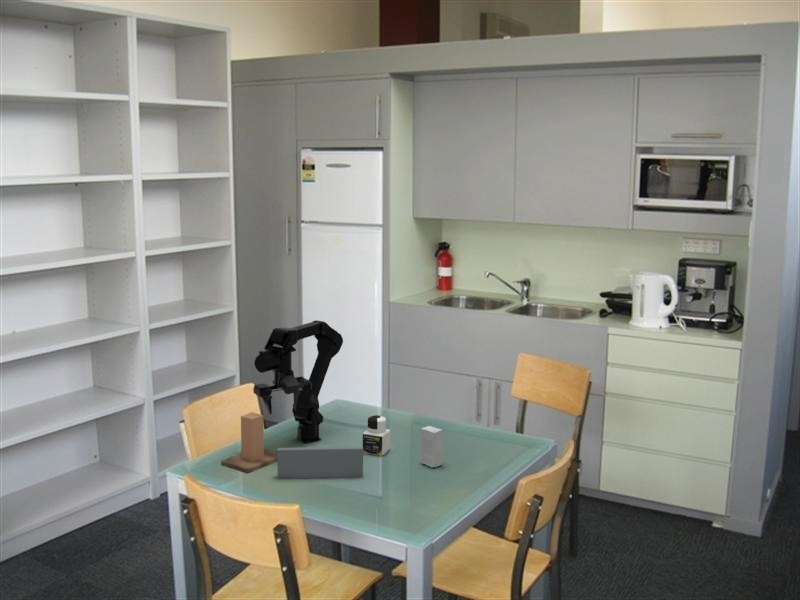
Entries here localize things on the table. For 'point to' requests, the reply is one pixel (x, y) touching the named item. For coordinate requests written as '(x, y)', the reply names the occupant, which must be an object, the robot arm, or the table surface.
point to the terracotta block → (252, 436)
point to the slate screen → (320, 462)
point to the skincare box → (431, 445)
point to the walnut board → (250, 462)
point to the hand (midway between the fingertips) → (283, 412)
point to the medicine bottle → (376, 436)
